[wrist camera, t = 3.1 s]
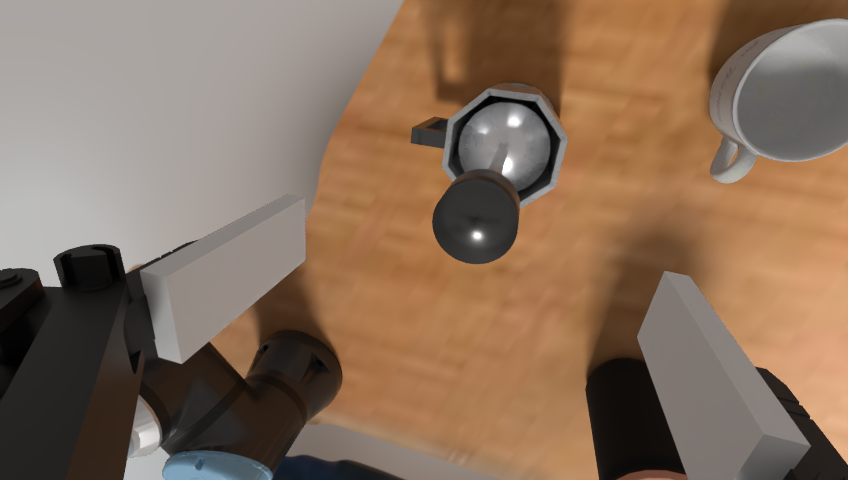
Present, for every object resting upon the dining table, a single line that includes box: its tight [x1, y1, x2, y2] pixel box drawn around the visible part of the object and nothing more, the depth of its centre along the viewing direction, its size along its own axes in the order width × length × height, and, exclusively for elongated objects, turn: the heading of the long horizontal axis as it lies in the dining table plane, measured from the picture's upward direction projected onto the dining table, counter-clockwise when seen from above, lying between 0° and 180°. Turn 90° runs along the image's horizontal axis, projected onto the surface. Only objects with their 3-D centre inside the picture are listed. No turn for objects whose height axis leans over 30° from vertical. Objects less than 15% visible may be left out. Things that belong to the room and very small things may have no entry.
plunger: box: [432, 102, 550, 264], centre depth 28 cm, size 8×8×20 cm
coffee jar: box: [585, 358, 688, 480], centre depth 47 cm, size 11×11×18 cm
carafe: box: [411, 83, 568, 209], centre depth 41 cm, size 14×10×13 cm
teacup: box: [709, 18, 848, 183], centre depth 36 cm, size 14×11×8 cm
